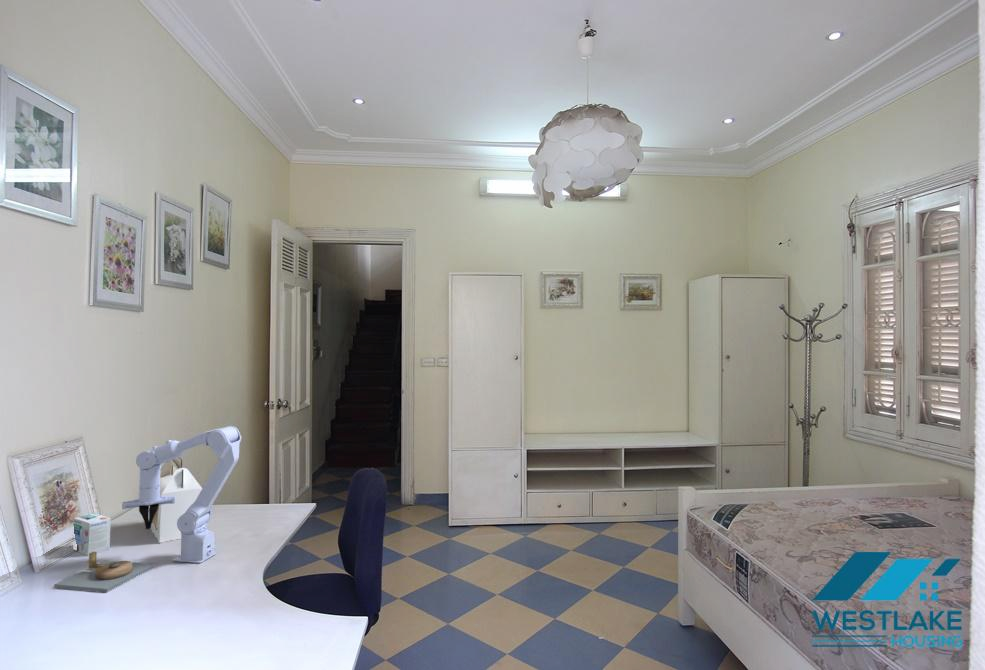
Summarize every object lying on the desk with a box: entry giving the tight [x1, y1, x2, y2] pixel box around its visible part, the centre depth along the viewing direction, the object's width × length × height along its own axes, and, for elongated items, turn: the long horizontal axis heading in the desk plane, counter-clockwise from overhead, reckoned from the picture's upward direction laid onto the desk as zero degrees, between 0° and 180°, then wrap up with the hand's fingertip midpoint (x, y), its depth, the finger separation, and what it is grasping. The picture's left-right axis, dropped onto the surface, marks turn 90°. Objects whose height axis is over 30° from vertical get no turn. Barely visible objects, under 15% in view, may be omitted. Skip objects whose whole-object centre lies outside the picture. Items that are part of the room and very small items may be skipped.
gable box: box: [150, 457, 203, 544], centre depth 196 cm, size 22×13×28 cm, turn 41°
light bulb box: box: [72, 512, 112, 557], centre depth 177 cm, size 11×7×11 cm, turn 62°
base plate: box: [53, 560, 155, 593], centre depth 156 cm, size 17×17×1 cm
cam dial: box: [88, 552, 133, 580], centre depth 157 cm, size 12×9×6 cm
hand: (148, 527), depth 172 cm, fingers closed
